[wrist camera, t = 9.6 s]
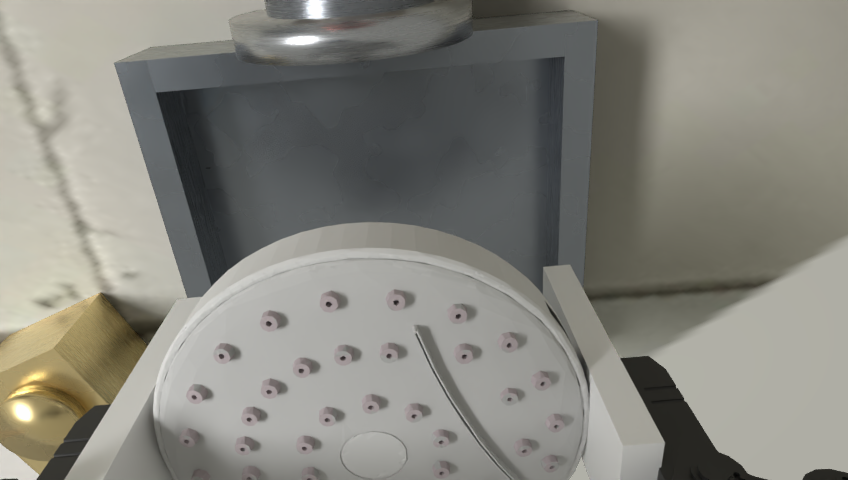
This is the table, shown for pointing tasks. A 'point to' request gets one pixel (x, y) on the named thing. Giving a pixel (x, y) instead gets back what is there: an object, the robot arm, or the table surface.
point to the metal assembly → (370, 129)
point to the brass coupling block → (62, 375)
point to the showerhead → (372, 366)
